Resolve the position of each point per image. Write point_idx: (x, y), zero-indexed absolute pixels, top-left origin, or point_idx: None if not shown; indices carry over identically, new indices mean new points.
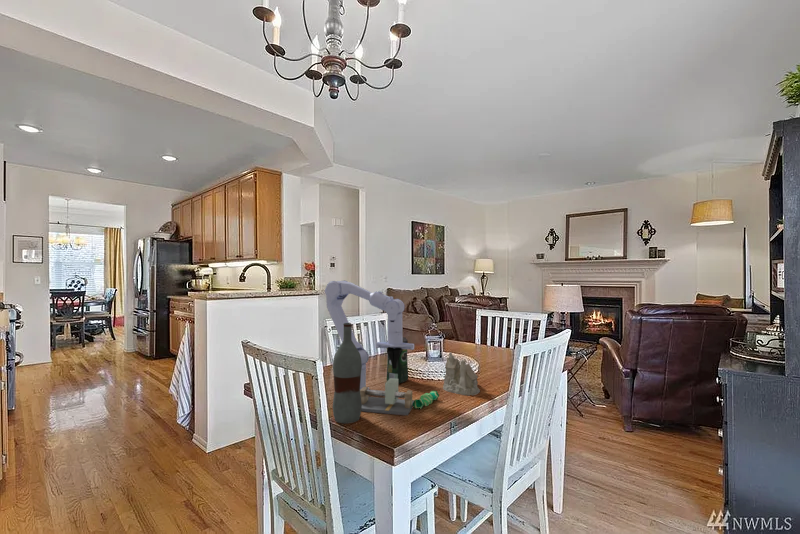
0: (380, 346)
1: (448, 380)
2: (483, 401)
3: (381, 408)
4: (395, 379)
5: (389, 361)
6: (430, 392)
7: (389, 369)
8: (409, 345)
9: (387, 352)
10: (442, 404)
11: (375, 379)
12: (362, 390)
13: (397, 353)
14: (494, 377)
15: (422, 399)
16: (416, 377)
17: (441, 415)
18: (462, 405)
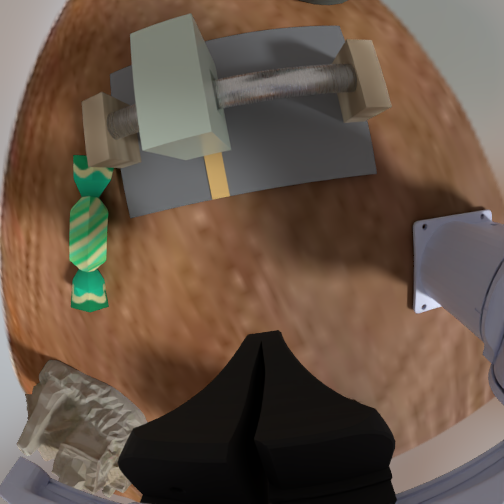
0: (500, 460)
1: (101, 418)
2: (9, 321)
3: (226, 52)
4: (155, 122)
5: None
6: (86, 290)
7: None
8: (21, 501)
9: (366, 409)
10: (57, 252)
11: (411, 406)
12: (357, 42)
13: (168, 426)
14: None
15: (83, 199)
16: None
17: (32, 150)
18: (20, 269)
